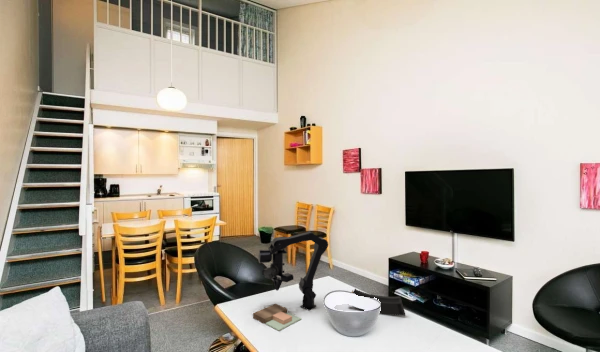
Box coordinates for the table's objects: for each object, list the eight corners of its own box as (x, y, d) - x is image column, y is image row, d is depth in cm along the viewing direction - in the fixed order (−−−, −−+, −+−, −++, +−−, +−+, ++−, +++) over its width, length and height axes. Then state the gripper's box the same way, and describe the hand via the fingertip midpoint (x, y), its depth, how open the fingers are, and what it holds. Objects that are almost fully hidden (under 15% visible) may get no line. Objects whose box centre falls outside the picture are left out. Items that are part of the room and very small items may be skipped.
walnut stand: (275, 308, 168) (275, 303, 168) (287, 313, 162) (287, 308, 162) (252, 318, 156) (253, 313, 156) (264, 324, 150) (264, 319, 150)
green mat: (287, 313, 161) (287, 312, 161) (301, 319, 155) (301, 318, 155) (265, 324, 149) (265, 323, 149) (279, 331, 143) (279, 330, 143)
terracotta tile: (280, 315, 158) (280, 311, 158) (292, 320, 153) (292, 316, 153) (272, 319, 154) (272, 315, 154) (283, 324, 148) (283, 320, 148)
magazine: (410, 299, 161) (356, 276, 170) (410, 301, 158) (355, 278, 167) (399, 328, 163) (346, 304, 172) (399, 331, 160) (345, 306, 169)
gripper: (254, 261, 165) (254, 290, 165) (279, 268, 153) (279, 299, 153) (269, 257, 173) (269, 284, 173) (294, 263, 161) (293, 293, 161)
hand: (277, 290), depth 165 cm, fingers closed
